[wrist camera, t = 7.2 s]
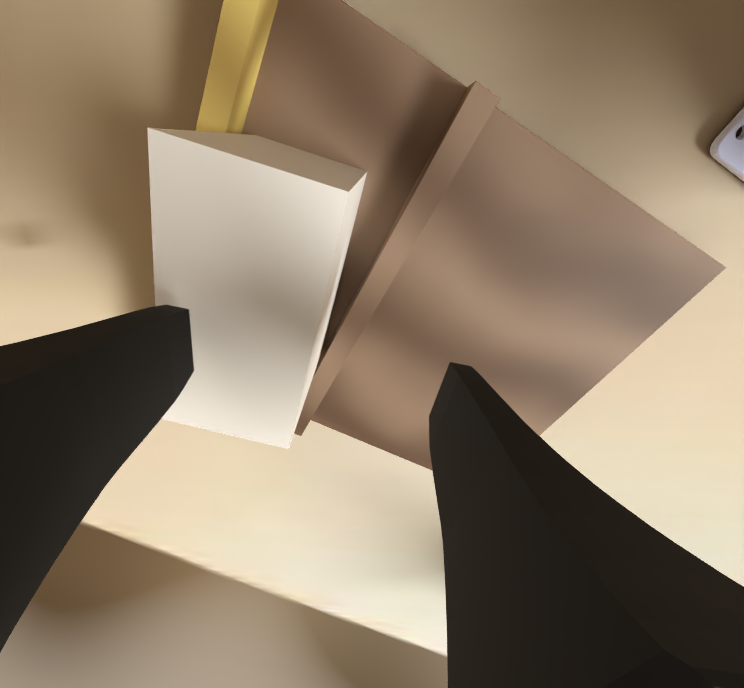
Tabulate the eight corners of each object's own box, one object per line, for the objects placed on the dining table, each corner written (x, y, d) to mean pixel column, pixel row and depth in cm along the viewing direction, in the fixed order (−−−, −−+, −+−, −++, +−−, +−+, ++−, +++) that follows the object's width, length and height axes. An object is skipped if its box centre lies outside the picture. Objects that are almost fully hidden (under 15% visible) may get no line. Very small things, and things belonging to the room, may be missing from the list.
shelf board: (273, -36, 12) (241, -84, 10) (699, 258, 17) (757, 279, 14) (174, 343, 21) (143, 372, 18) (474, 471, 25) (484, 509, 22)
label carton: (246, 131, 14) (129, 121, 7) (367, 171, 14) (348, 191, 8) (229, 324, 18) (148, 415, 12) (322, 349, 18) (288, 449, 12)
